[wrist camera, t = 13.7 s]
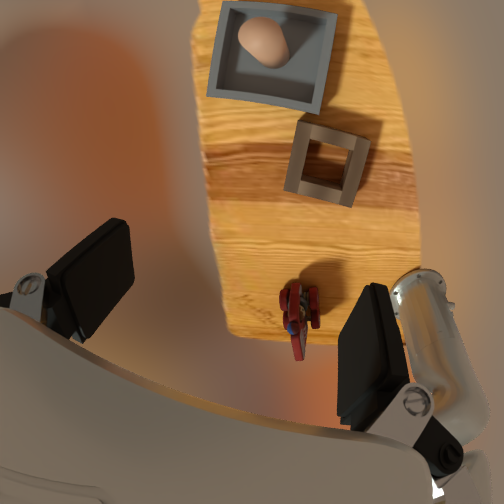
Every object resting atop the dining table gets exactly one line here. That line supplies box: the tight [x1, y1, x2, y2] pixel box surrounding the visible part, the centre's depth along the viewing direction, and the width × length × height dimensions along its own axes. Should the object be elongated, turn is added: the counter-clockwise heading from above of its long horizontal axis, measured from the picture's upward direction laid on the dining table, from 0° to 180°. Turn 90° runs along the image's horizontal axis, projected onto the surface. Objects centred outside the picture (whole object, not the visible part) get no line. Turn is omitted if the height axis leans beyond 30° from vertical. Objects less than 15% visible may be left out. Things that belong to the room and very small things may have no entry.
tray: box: [206, 1, 338, 115], centre depth 28 cm, size 15×15×4 cm
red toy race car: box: [279, 283, 320, 361], centre depth 47 cm, size 7×12×10 cm, turn 13°
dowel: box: [238, 17, 290, 69], centre depth 25 cm, size 4×4×11 cm
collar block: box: [283, 120, 371, 208], centre depth 35 cm, size 10×10×4 cm
